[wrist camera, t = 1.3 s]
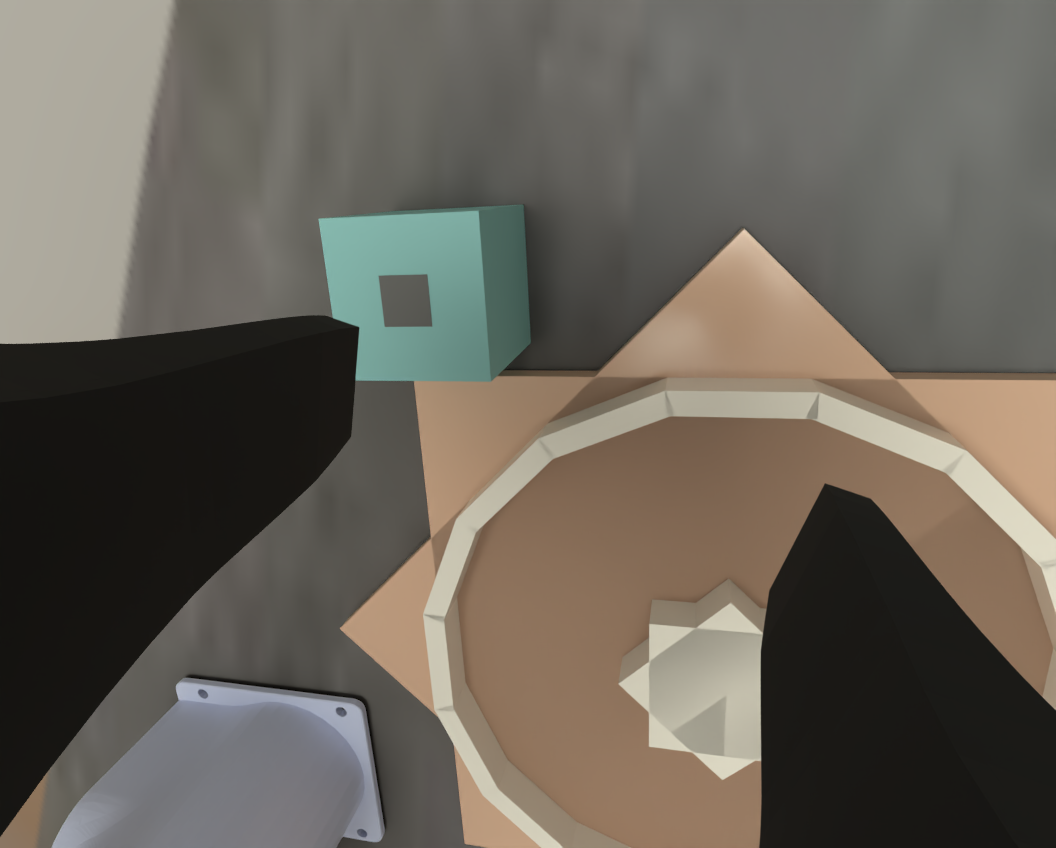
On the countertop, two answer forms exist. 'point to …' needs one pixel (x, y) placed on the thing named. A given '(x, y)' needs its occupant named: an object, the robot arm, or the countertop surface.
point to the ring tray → (686, 552)
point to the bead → (431, 290)
